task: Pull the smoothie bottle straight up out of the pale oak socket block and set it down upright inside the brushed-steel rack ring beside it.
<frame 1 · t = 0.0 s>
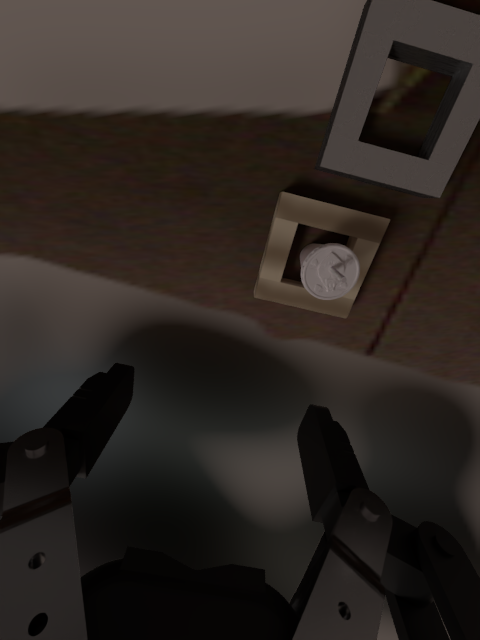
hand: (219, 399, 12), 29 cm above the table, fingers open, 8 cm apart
rack ring: (397, 113, 30), on the table
smoothie: (312, 256, 38), resting in socket block
socket block: (312, 256, 38), on the table
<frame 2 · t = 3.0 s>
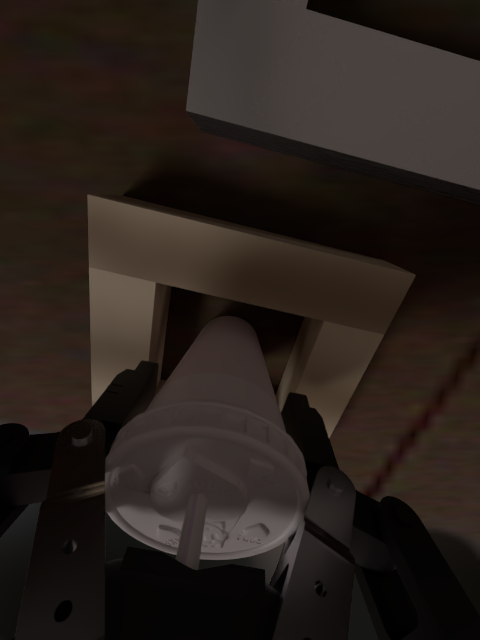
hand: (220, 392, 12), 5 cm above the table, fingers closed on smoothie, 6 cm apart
smoothie: (229, 340, 17), resting in socket block, touching gripper
socket block: (229, 342, 16), on the table
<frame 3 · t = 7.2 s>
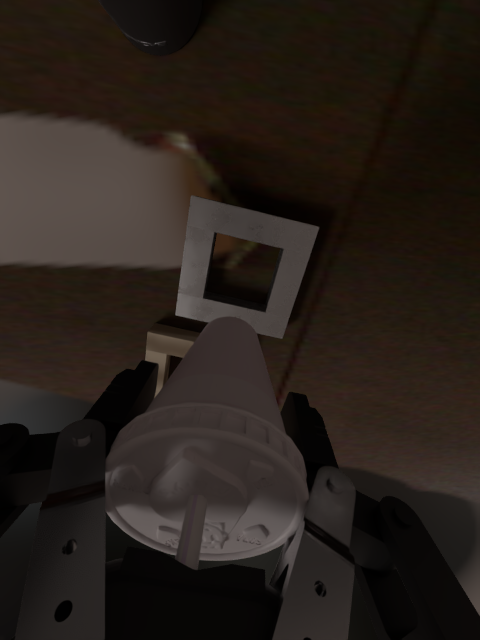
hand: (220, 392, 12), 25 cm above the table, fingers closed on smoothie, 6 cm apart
rack ring: (242, 269, 35), on the table
smoothie: (229, 341, 17), point 20 cm above the table, touching gripper
socket block: (193, 370, 42), on the table
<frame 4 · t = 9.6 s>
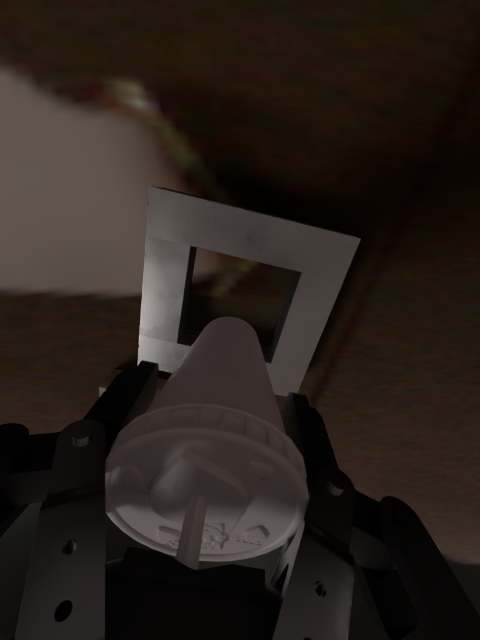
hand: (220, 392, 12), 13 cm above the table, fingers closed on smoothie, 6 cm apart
rack ring: (236, 297, 24), on the table
smoothie: (229, 341, 17), point 8 cm above the table, touching gripper
socket block: (171, 427, 31), on the table
when the fingers open (6 cm above the table, at t = 11.6 s): smoothie drops 1 cm, resting in rack ring.
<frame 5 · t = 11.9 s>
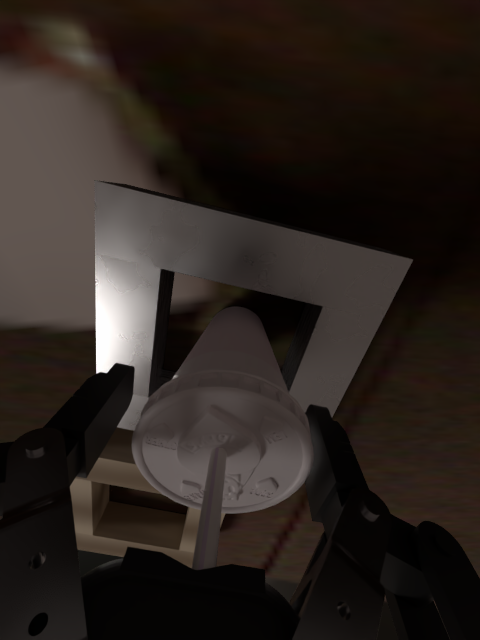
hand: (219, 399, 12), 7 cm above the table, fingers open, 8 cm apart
rack ring: (230, 332, 18), on the table
smoothie: (236, 330, 18), resting in rack ring
socket block: (151, 483, 25), on the table
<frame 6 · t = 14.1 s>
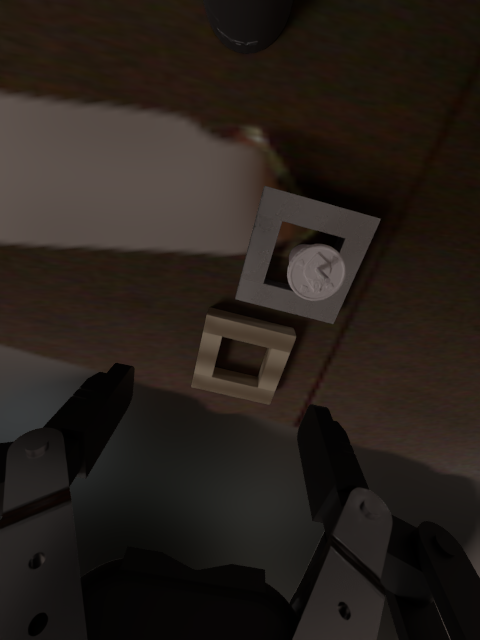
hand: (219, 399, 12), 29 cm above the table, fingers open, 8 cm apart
rack ring: (299, 257, 38), on the table
smoothie: (301, 257, 38), resting in rack ring
socket block: (241, 353, 45), on the table
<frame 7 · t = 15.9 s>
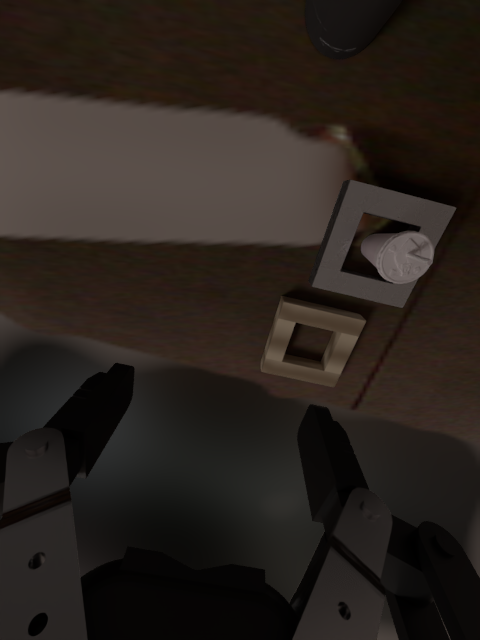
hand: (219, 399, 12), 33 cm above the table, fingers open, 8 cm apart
rack ring: (370, 246, 40), on the table
smoothie: (372, 245, 40), resting in rack ring
socket block: (307, 339, 48), on the table
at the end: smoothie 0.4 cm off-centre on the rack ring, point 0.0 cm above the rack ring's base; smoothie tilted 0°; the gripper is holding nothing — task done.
